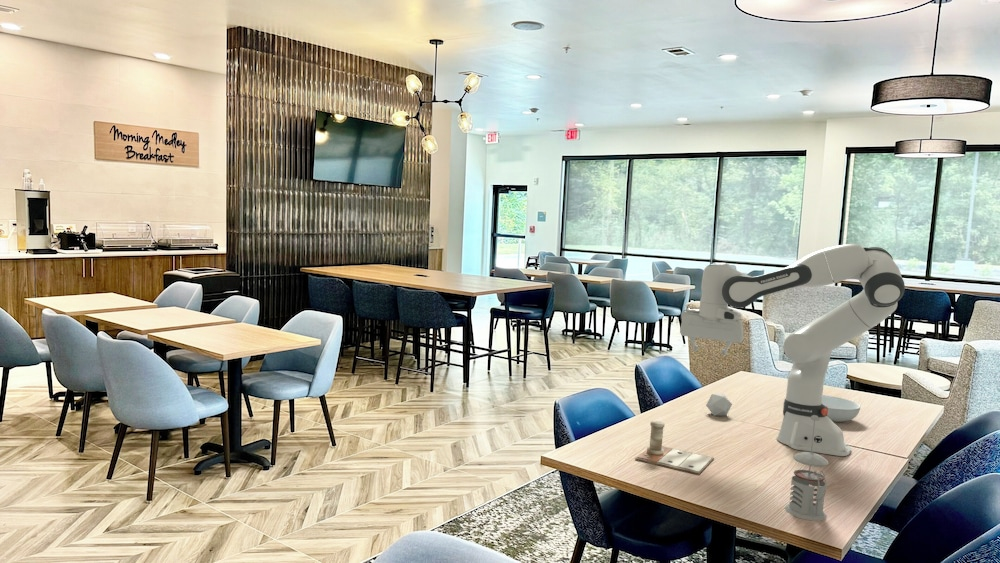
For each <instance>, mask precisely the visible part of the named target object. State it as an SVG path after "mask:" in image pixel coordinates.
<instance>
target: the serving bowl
mask: <svg viewBox="0 0 1000 563" xmlns="http://www.w3.org/2000/svg"><path fill="white" fill-rule="evenodd" d="M822 404H823V405H824V406H827V407H828V414H827V417H828V418H829V419H830V420H832V421H833V422H834V423H840V422H847V421H852V420H854V419H855V418H856V417H857V416H858V414H860V412H861V405H860V404H859V403H857V402H855V401H852V400H849V399H847V398H842V397H838V396H832V395H825V394H823V395H822ZM839 421H840V422H839Z"/></svg>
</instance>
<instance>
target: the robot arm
mask: <svg viewBox="0 0 1000 563" xmlns="http://www.w3.org/2000/svg"><path fill="white" fill-rule="evenodd" d="M846 280H858V281H859V283H860V284H861V286H862V288H863V289H862V291H860V292H859V293H858V294H856V295H854V296H853V297H851V298H849V299H847V300H846V301H844V302H843V303H841V304H840V305H838V306H836V307H834V308H833V309H831V310H830V311H828V312H827V313H825V314H822V315H821V316H819V317H817V318H815V319H814V320H811V321H810V322H808V323H806V324H805V325H803V326H801V327H800V328H798V329H796V330H795V331H793V332H791V333H790V334H789V335H788V336H787V337H786V338H785V339H784V342H783V352H784V354H785V355H786V357H787V358H788V359H789V360H791V361H792V362H793V363H792V366H791V369H790V372H789V373H788V376H787V382H786V395H785V398H784V401H783V406H782V415H783V416H782V421H781V426H780V429H779V432H778V435H777V437H776V440H777V441H778V442H780V443H781V444H784V445H787V446H789V447H790V448H791V449H794V450H799V451H803V452H811V446H812V436H813V426H814V420H811V416H812V415H816V416H818V417H819V421H815V427H814V437H813V447H812V452H813V453H816V454H825V455H829V456H830V455H832V456H837V457H838V456H839V457H845V456H846V457H847V456H848V455H850V454H851V450H852V449H851V446H850V445H849V444H847V443H846V442H845V438H844V433H843V431H842V429H841V428H840V427H839V426H838V425H837V424H836V422H833V421H832V420H830V419H829V418H828V417H827V414H828V407H827V406H824V405H823V404H822V395H824V384H825V379H826V374H827V372H828V367H829V364H830V358H831V356H832V352H833V350H835V349H838V348H839V347H841V346H842V345H845V344H846V343H849V342H850V341H852V340H854V339H855V338H857V337H860V335H863V334H864V333H866V332H867V331H869V330H871V329H873V328H874V327H876V326H877V325H879V324H880V323H882V322H883V321H884V320H886V319H887V318H888V317H890V316H891V315H892V314H893V313H894V312H895V311H896V310H897V308H898V302H899V301H900V300H901V299H902V298H903V296H904V295H905V288H906V287H905V280H904V279H903V277H902V274H901V271H900V269H899V266H898V265H897V264H896V262H895V260H894V258H893V256H892V255H891V254H890V253H889V252H888V250H886V249H884V248H882V247H879V246H868V247H862V245H860V244H857V243H847V244H846V243H845V244H839V245H835V246H829V247H826V248H823V249H818V250H816V251H813V252H811V253H808V254H806V255H804V256H802V257H799V258H798V259H796V261H794V262H792V263H791V264H790V265H788V266H785V267H783V268H781V269H778V270H774V271H772V272H770V271H769V272H767V273H764V274H760V275H757V276H756V275H755V276H751V275H748V274H746V273H744V272H741V271H739V270H737V269H735V268H734V267H733V266H731V265H730V263H728V262H717V263H712V264H709V265H706V267H705V268H704V269H703V274H702V278H701V285H700V286H701V287H700V289H701V297H700V300H699V307H698V308H699V309H693V308H692V309H690V308H686V309H683V310H682V311H681V316H680V317H681V323H680V329H679V334H680V335H681V336H684V337H689V341H690V343H691V346H692V351H695V352H698V351H699V345H697V343H696V340H697V339H703V340H704V339H705V340H712V341H719V342H720V341H721V342H725V345H726V346H725V348H722V349H721V353H720V354H721V355H722V356H727V355H728V350H729V348H730V347H731V345H732V343H733V344H734V343H735V344H740V343H742V342H743V341H744V335H745V334H744V323H743V321H742V320H741V319H742V313H741V312H739V311H738V310H735V309H743V308H746V307H748V306H749V305H751V304H752V303H753V302H754V301H756V300H757V299H759V298H761V297H764V296H766V295H771V294H774V293H778V292H781V291H785V290H791V289H798V288H800V289H801V288H816V287H817V288H818V287H823V286H829V285H833V284H836V283H840V282H842V281H846ZM729 306H730V307H729ZM732 308H735V309H732ZM696 338H697V339H696ZM721 355H720V356H721Z"/></svg>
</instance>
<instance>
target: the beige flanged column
mask: <svg viewBox="0 0 1000 563" xmlns="http://www.w3.org/2000/svg"><path fill="white" fill-rule="evenodd" d="M664 428H665V422H662V421H657V420H652V421H650V438H649V446H647V448H646V450H647V453H649V454H651V455H657V456H660V455H663V454H664V449H663V448H662V446H663V437H664V436H663V434H664Z"/></svg>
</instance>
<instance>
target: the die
mask: <svg viewBox="0 0 1000 563" xmlns="http://www.w3.org/2000/svg"><path fill="white" fill-rule="evenodd" d="M732 405H733V403H732V402H731V401H730V399H728V397H727V396H726V395H725V394H724V393H711V395H710V397H709V399H708V401H707V402H706V404H705V406H706V407H707V409H708V411H709V412H710V413H711V414H712V415H713V416H714V417H715V416H716V417H718V416H719V417H720V416H721V417H723V416H725V417H727V415H728V413H729V411H730V409H731V407H732Z"/></svg>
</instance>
